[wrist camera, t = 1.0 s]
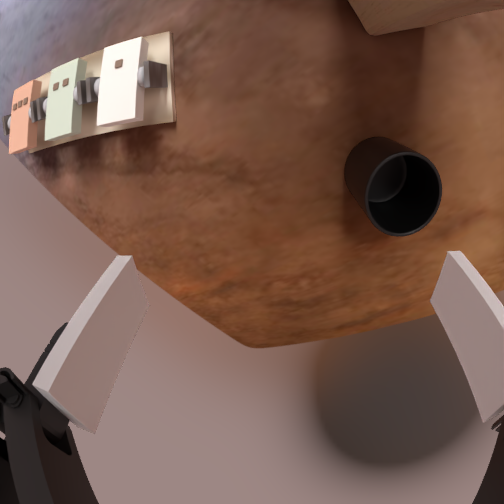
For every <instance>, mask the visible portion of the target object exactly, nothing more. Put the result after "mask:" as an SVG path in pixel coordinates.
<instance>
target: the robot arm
mask: <svg viewBox="0 0 504 504" xmlns="http://www.w3.org/2000/svg"><path fill="white" fill-rule="evenodd" d="M430 302H431V304H432V306H433V308H434V310H435V311H436V313H437V315H438V317H439V319H440V321H441V323H442V325H443V327H444V329H445V331H446V333H447V335H448V337H449V339H450V341H451V343H452V345H453V347H454V349H455V352H456V354H457V356H458V358H459V361H460V363H461V365H462V367H463V370H464V372H465V375H466V377H467V380H468V382H469V385H470V387H471V390H472V392H473V395H474V398H475V401H476V403H477V406H478V409H479V412H480V415H481V418H482V421H483V422H485V421H487V420H490V419H491V418H494V417H496V416H497V415H498V414H499V413H500V412H501V411H503V409H504V307H503V305H502V304H501V302H500V301H499V299H498V298H497V297H496V295H495V294H494V292H493V291H492V290H491V288H490V287H489V286H488V284H487V283H486V282H485V280H484V279H483V278H482V277H481V275H480V274H479V273H478V272H477V270H476V269H475V268H474V267H473V265H472V264H471V263H470V262H469V261H468V259H467V258H466V257H465V256H464V255H463V253H462V252H461V251H448V252H447V255H446V258H445V262H444V265H443V267H442V270H441V273H440V276H439V279H438V282H437V284H436V287H435V289H434V292H433V295H432V297H431V300H430ZM148 308H149V303H148V300H147V298H146V295H145V292H144V290H143V287H142V284H141V281H140V278H139V275H138V273H137V269H136V266H135V263H134V260H133V257H132V256H117V257H116V258H115V259H114V260H113V262H112V263H111V264H110V266H109V267H108V268H107V270H106V271H105V272H104V273H103V275H102V276H101V278H100V279H99V280H98V282H97V283H96V284H95V286H94V287H93V289H92V290H91V291H90V293H89V294H88V295H87V297H86V298H85V300H84V301H83V302H82V304H81V305H80V307H79V308H78V310H77V311H76V313H75V314H74V316H73V317H72V319H71V320H70V322H69V323H65V324H64V325H63V326H62V327H60V328H59V329H58V330H57V331H56V333H55V334H54V336H53V337H52V339H51V340H50V344H48V345H47V347H46V348H45V352H43V354H42V355H41V357H40V358H39V360H38V362H37V363H36V365H35V367H34V369H33V370H32V372H31V374H30V376H29V378H28V379H27V381H26V382H25V384H23V383H22V382H21V381H20V380H19V379H18V378H17V376H16V375H15V374H14V373H13V372H12V371H11V370H10V369H9V368H6V367H5V368H0V431H1V432H3V433H4V434H5V435H6V437H5V439H4V440H3V439H2V438H0V504H99V503H98V501H97V499H96V497H95V495H94V492H93V490H92V488H91V486H90V483H89V481H88V478H87V476H86V473H85V470H84V468H83V465H82V462H81V459H80V456H79V454H78V451H77V447H76V444H75V441H74V438H73V434H72V431H71V429H70V427H69V426H68V423H69V420H70V421H71V422H72V423H74V424H75V425H76V426H77V427H79V428H81V429H83V430H86V431H88V432H91V433H94V434H95V432H96V430H97V427H98V424H99V421H100V418H101V416H102V413H103V411H104V408H105V406H106V403H107V401H108V398H109V396H110V393H111V391H112V388H113V386H114V383H115V381H116V379H117V376H118V374H119V372H120V369H121V367H122V365H123V362H124V360H125V357H126V355H127V353H128V350H129V349H130V347H131V344H132V342H133V340H134V338H135V336H136V333H137V331H138V329H139V327H140V325H141V323H142V321H143V318H144V316H145V314H146V312H147V310H148ZM500 423H501V425H500V426H499V427H498V428H497V429H496V431H497V432H499V434H498V438H497V441H496V445H495V448H494V451H493V454H492V457H491V460H490V463H489V466H488V468H487V471H486V474H485V476H484V479H483V481H482V484H481V486H480V488H479V491H478V493H477V495H476V497H475V499H474V501H473V503H472V504H504V415H503V416H502V417H501V418H499V420H497V421H496V422H495V423H494V424H493V426H492V428H491V429H492V430H493V429H494V428H495V427H497V426H498V425H499V424H500Z"/></svg>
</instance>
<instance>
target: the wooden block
mask: <svg viewBox="0 0 504 504" xmlns="http://www.w3.org/2000/svg"><path fill="white" fill-rule="evenodd" d="M348 2H349V3H350V5H351V6H352V8H353V9H354V11H355V13H356V14H357V16H358V18H359V19H360V21H361V23H362V25H363V26H364V28H365V30H366V31H367V32H368V34H369V35H375V36H378V35H382V34H387V33H391V32H396V31H401V30H407V29H413V28H419V27H426V26H429V25H432V24H436V23H439V22H443V21H446V20H450V19H454V18H458V17H462V16H466V15H471V14H476V13H481V12H486V11H492V10H498V9H504V0H348Z"/></svg>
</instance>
